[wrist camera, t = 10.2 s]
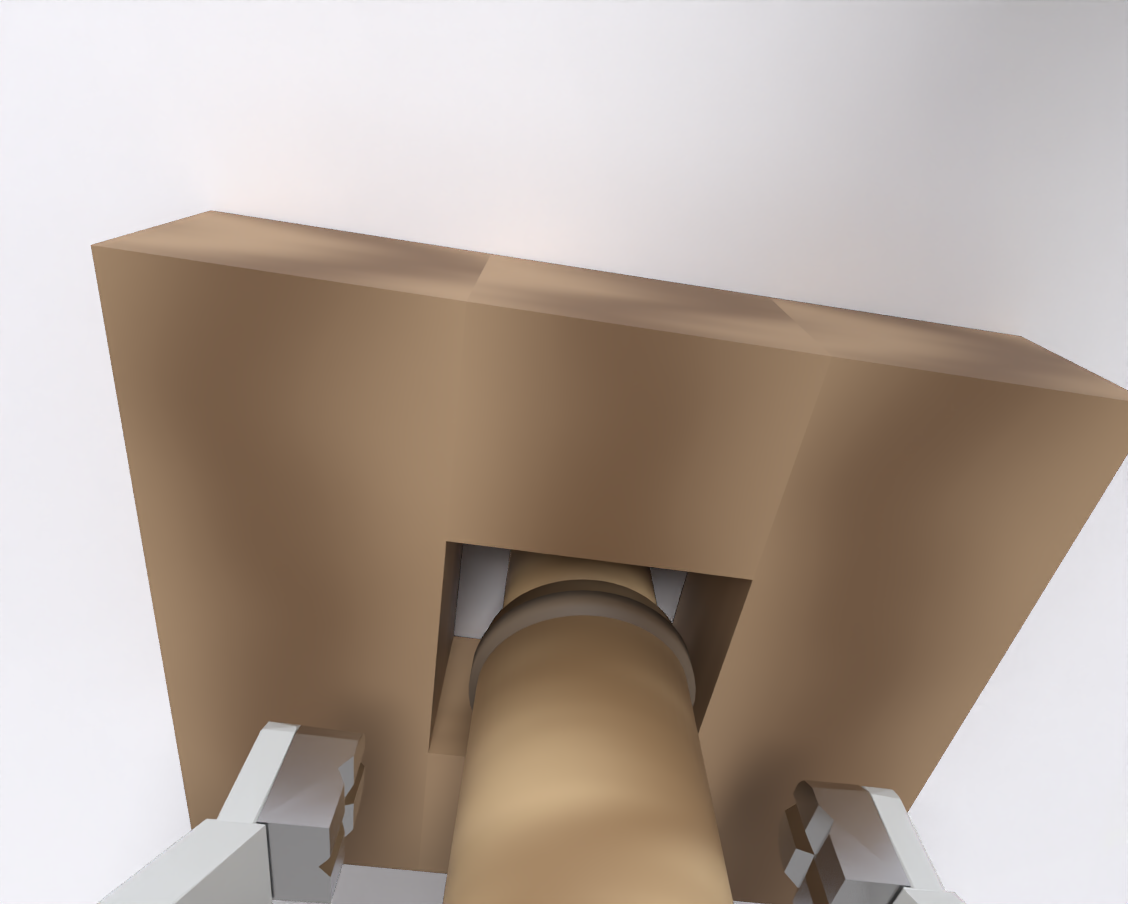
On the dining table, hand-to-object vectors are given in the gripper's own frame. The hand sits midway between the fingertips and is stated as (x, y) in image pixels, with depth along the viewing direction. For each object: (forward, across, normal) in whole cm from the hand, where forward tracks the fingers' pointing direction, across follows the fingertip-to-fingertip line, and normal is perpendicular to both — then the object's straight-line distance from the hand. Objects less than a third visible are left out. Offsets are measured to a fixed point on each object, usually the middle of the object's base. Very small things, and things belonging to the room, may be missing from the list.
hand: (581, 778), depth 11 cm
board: (+6, 0, 0) cm, 6 cm away
